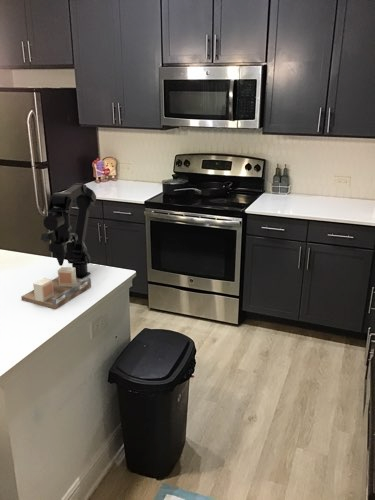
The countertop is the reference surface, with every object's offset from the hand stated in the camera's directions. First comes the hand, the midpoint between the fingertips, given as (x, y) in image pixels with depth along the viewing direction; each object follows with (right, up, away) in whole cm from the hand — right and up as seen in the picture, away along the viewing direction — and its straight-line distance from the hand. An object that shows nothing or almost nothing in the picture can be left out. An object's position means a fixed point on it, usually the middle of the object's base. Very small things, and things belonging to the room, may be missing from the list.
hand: (64, 262), depth 177 cm
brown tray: (-3, -13, 0) cm, 13 cm away
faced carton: (-6, -14, -7) cm, 17 cm away
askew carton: (0, -9, +4) cm, 10 cm away
